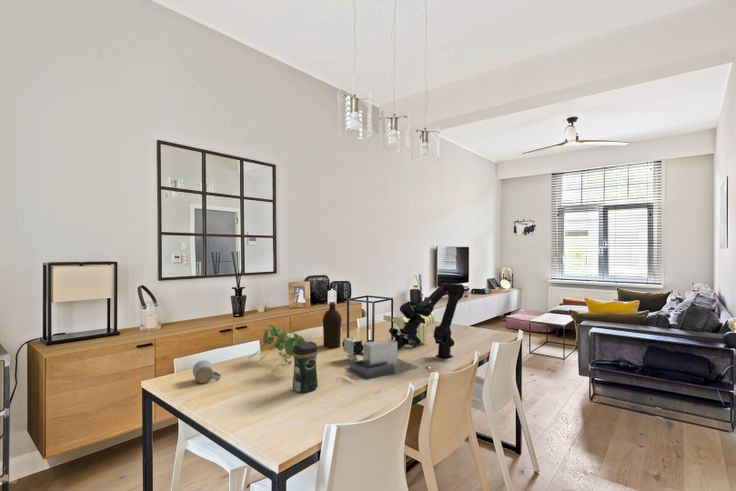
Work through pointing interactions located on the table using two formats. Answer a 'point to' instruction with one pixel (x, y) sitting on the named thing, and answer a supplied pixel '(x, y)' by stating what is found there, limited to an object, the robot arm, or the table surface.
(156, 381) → the table surface
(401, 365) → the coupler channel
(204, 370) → the ceramic mug
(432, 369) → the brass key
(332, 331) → the olive oil
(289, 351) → the plant cuttings
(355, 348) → the pneumatic valve
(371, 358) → the block
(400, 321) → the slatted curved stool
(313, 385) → the coffee jar
